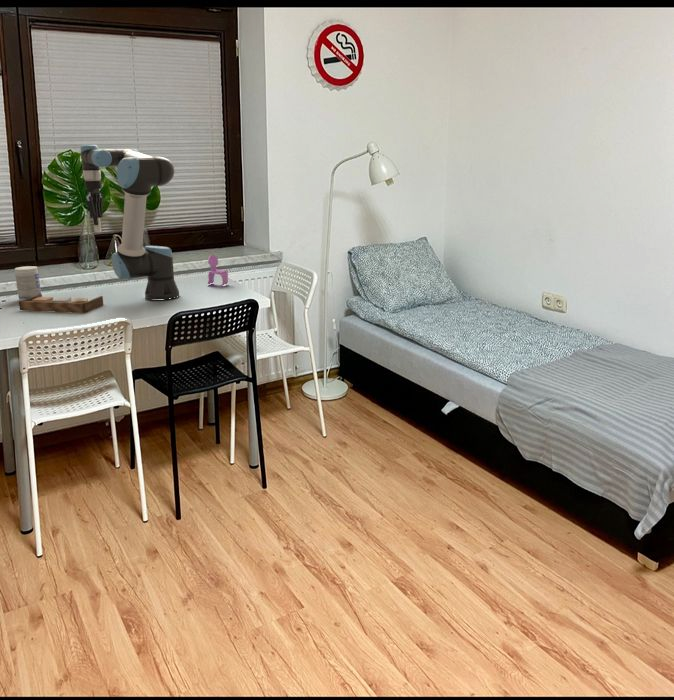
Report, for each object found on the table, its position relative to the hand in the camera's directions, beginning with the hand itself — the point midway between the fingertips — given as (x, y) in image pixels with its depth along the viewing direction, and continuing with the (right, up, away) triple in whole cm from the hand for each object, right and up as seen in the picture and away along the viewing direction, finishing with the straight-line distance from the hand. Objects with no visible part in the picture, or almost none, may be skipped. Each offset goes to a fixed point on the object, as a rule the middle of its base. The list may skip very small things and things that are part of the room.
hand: (98, 232), depth 323 cm
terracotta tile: (-15, -37, -25) cm, 47 cm away
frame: (-6, -37, -27) cm, 46 cm away
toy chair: (+53, -24, +16) cm, 60 cm away
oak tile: (+2, -38, -28) cm, 47 cm away
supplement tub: (-27, -33, -11) cm, 44 cm away
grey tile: (-6, -37, -26) cm, 46 cm away
